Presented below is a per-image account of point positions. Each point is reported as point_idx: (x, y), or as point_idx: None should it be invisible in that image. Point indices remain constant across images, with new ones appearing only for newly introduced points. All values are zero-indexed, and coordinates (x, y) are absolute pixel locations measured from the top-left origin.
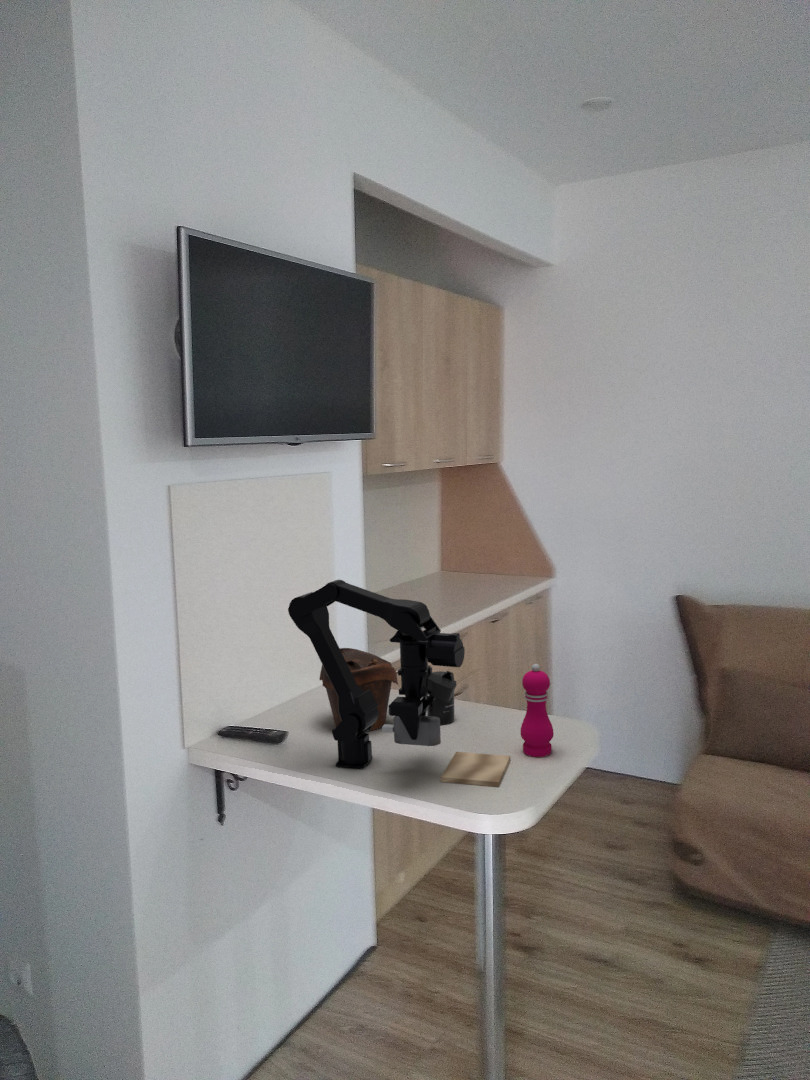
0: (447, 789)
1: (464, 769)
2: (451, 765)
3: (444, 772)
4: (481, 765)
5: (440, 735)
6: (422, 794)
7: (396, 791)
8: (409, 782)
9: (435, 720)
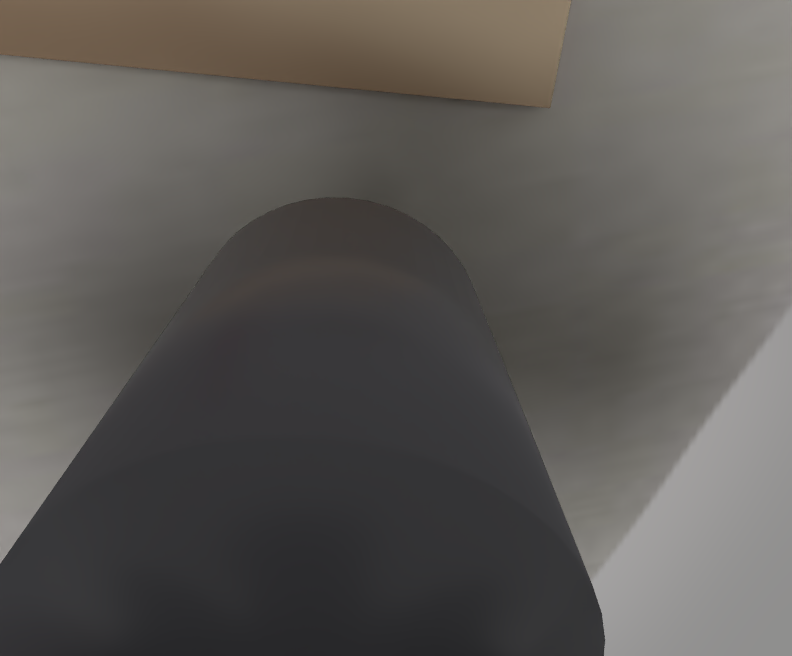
0: (706, 7)
1: None
2: (246, 35)
3: (437, 85)
4: None
5: (300, 234)
6: (778, 215)
7: (699, 400)
8: (548, 349)
9: (380, 549)
